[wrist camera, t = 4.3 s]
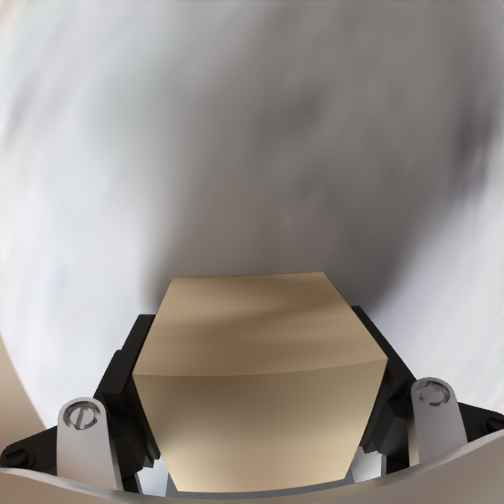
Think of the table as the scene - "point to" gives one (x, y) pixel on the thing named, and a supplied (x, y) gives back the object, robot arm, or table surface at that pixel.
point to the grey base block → (174, 493)
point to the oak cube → (257, 381)
